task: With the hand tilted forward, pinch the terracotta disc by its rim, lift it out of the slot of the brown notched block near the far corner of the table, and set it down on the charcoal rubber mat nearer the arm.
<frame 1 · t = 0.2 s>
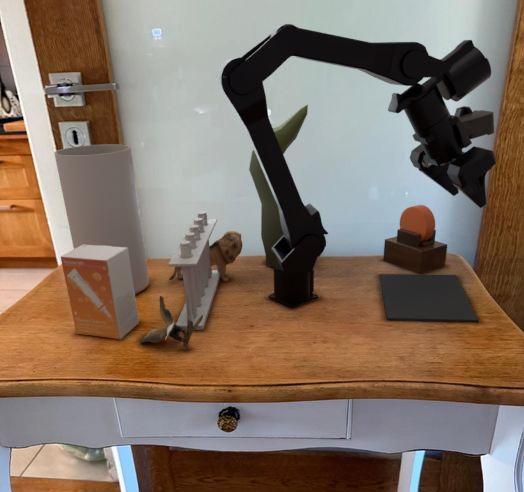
hand: (469, 199, 95), 15 cm above the table, tool tilted 35°, fingers open, 9 cm apart
small box: (108, 330, 89), on the table
mat: (423, 296, 96), on the table
lion figurine: (209, 279, 108), on the table, touching test tube rack
disc: (415, 241, 109), point 5 cm above the table, touching brown notched block
tentacle: (282, 263, 115), on the table
brown notched block: (413, 263, 111), on the table
eagle figurine: (170, 343, 84), on the table
cylinder vase: (116, 288, 105), on the table
test tube rack: (201, 300, 99), on the table, touching lion figurine
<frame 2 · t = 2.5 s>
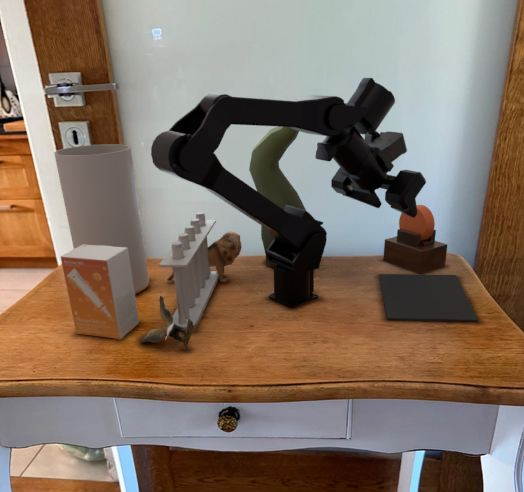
hand: (397, 210, 103), 12 cm above the table, tool tilted 45°, fingers open, 9 cm apart
test tube rack: (196, 301, 98), on the table, touching lion figurine
everything else where it was.
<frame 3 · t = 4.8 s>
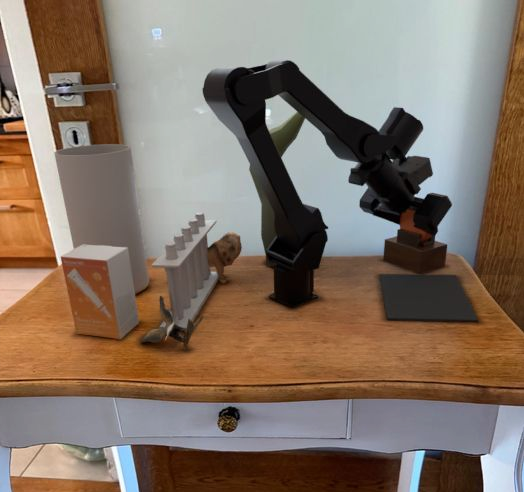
hand: (421, 229, 109), 7 cm above the table, tool tilted 45°, fingers closed on disc, 7 cm apart
disc: (415, 241, 109), point 5 cm above the table, touching gripper, brown notched block
test tube rack: (193, 301, 98), on the table, touching lion figurine
everything else where it was.
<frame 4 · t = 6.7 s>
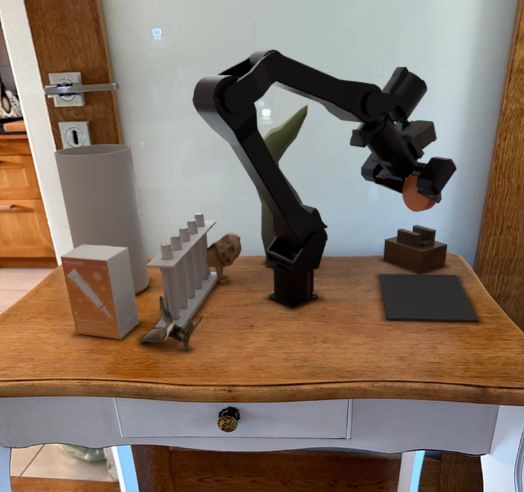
hand: (424, 197, 106), 13 cm above the table, tool tilted 45°, fingers closed on disc, 7 cm apart
disc: (418, 210, 106), point 11 cm above the table, touching gripper
test tube rack: (191, 301, 98), on the table, touching lion figurine
everything else where it was.
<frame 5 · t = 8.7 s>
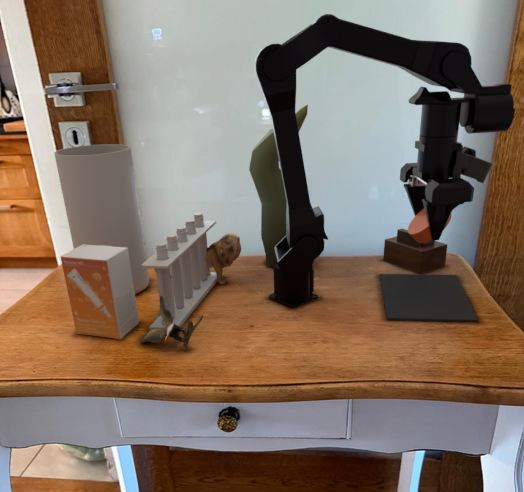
hand: (428, 233, 93), 11 cm above the table, tool pointing down, fingers closed on disc, 7 cm apart
lion figurine: (207, 280, 107), on the table, touching test tube rack
disc: (413, 237, 93), point 10 cm above the table, tilted 45°, touching gripper
test tube rack: (189, 302, 98), on the table, touching lion figurine
everything else where it was.
when the fingers open (2 cm above the table, at t = 11.5 s): disc stays where it is and tips over, resting on mat.
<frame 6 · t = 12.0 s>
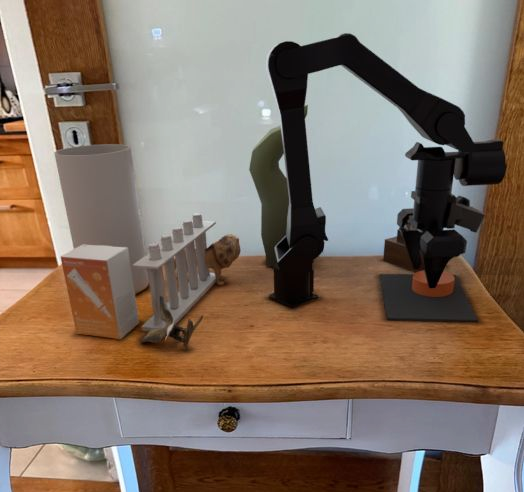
hand: (423, 278, 97), 3 cm above the table, tool pointing down, fingers open, 9 cm apart
lion figurine: (207, 281, 107), on the table, touching test tube rack
disc: (413, 284, 97), point 2 cm above the table, tilted 90°, touching mat
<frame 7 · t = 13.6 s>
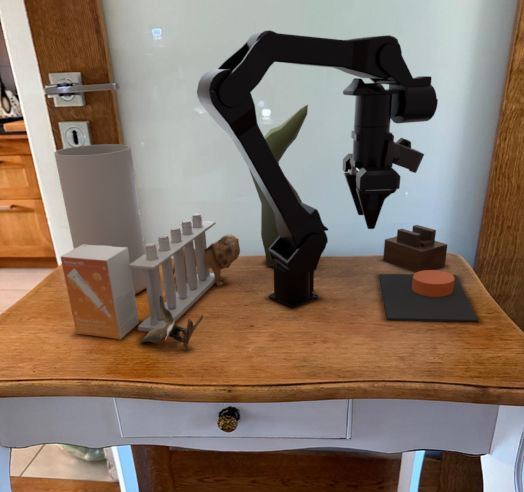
hand: (365, 221, 96), 12 cm above the table, tool pointing down, fingers open, 9 cm apart
test tube rack: (183, 302, 98), on the table, touching lion figurine
everything else where it was.
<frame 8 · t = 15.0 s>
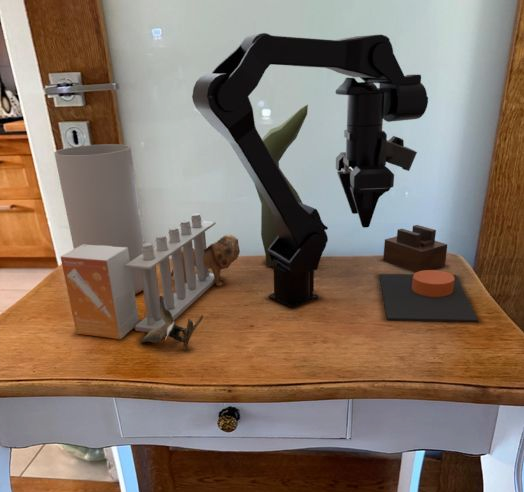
hand: (360, 220, 97), 12 cm above the table, tool pointing down, fingers open, 9 cm apart
lion figurine: (206, 281, 107), on the table, touching test tube rack
test tube rack: (182, 302, 98), on the table, touching lion figurine
everything else where it was.
at the end: disc point 1.6 cm above the table; disc 2.5 cm from the mat (horizontally); the gripper is holding nothing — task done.
